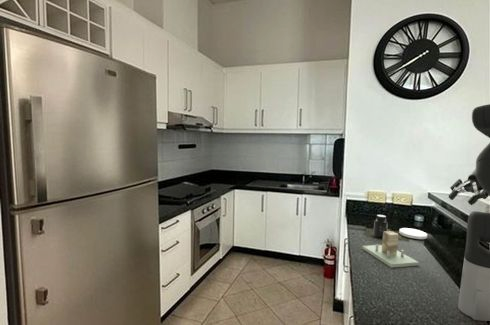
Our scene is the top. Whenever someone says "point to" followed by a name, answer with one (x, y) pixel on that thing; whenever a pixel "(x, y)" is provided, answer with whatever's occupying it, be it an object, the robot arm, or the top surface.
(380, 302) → the top surface
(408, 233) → the plastic lid
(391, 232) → the ash block
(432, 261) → the top surface
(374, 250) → the peg board
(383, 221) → the supplement bottle
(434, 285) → the top surface
